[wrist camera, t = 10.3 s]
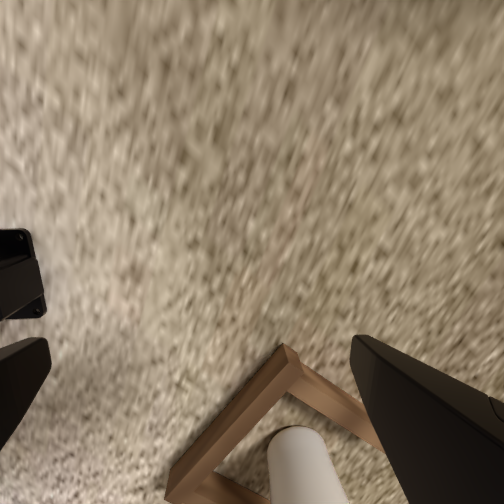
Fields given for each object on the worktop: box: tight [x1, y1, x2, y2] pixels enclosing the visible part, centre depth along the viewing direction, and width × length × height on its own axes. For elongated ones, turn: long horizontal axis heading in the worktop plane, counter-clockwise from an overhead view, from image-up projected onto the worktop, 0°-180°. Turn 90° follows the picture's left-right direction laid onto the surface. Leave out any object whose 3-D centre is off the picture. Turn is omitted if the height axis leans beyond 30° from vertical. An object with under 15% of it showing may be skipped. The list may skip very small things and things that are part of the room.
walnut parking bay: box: [164, 343, 386, 504], centre depth 25 cm, size 13×16×3 cm
